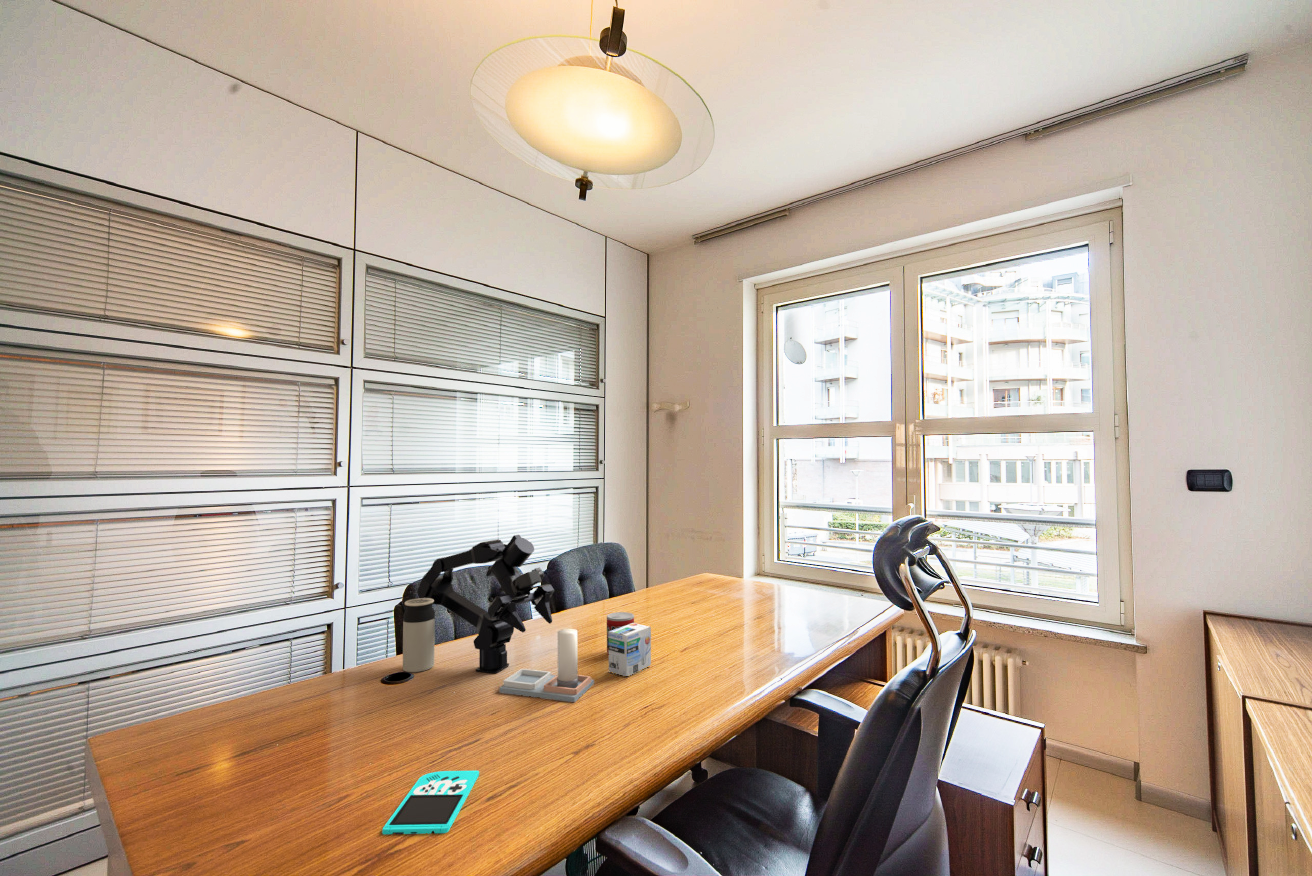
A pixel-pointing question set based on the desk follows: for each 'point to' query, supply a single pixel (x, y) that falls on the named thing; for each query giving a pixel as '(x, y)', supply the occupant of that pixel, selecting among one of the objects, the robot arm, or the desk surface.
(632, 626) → the light bulb box
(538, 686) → the socket board
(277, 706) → the desk surface
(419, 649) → the travel mug
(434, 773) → the handheld game console
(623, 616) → the canned food
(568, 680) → the white cylinder
